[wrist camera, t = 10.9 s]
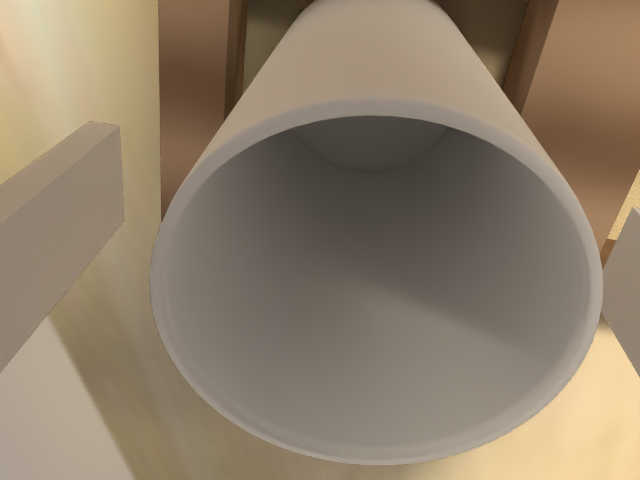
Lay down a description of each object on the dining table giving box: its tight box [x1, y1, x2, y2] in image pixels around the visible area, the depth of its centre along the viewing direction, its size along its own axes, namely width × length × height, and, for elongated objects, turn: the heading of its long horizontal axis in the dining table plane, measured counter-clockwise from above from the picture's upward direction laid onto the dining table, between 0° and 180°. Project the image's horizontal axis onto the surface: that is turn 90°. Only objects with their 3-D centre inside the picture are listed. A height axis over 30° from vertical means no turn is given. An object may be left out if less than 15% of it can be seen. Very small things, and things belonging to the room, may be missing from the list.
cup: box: [150, 0, 603, 465], centre depth 17 cm, size 8×8×16 cm
